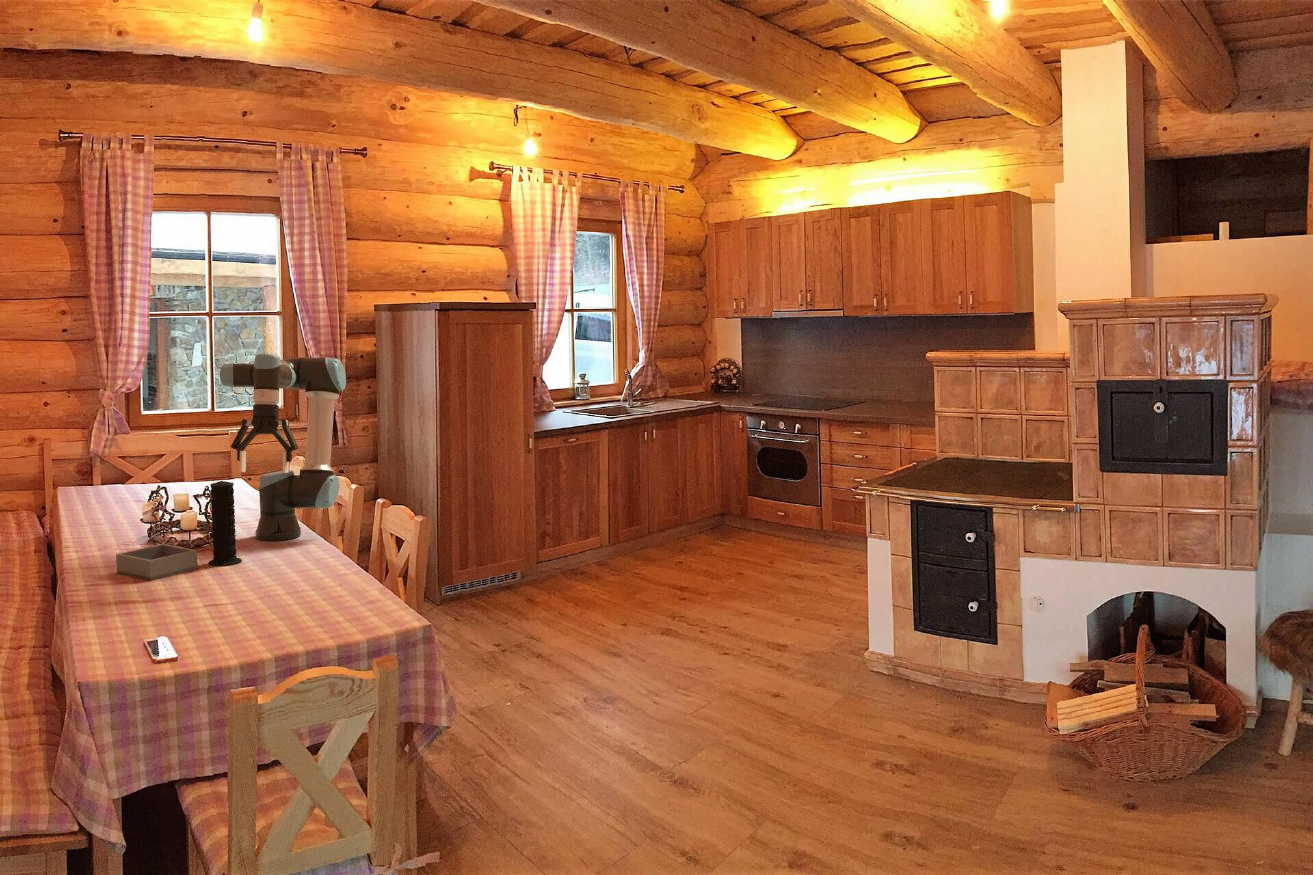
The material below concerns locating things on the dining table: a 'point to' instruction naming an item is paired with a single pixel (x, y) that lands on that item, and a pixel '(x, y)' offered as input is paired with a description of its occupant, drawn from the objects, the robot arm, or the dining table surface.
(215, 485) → the handle grip
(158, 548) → the box
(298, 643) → the dining table surface
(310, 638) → the dining table surface
